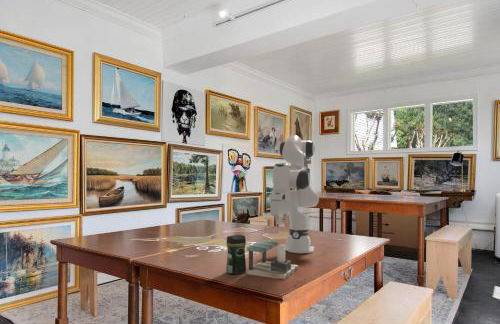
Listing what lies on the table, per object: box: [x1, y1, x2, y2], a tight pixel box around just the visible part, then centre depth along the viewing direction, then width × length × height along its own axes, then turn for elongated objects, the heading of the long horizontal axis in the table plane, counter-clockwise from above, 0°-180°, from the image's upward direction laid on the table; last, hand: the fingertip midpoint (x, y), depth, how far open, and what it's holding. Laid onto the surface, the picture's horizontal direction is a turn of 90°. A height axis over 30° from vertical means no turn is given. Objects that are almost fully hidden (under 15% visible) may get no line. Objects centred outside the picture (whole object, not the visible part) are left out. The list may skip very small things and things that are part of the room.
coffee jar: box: [225, 234, 247, 275], centre depth 171 cm, size 10×8×19 cm
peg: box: [276, 243, 286, 263], centre depth 169 cm, size 4×4×12 cm
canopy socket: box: [246, 240, 299, 281], centre depth 173 cm, size 20×20×13 cm
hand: (281, 223), depth 170 cm, fingers open, 8 cm apart
